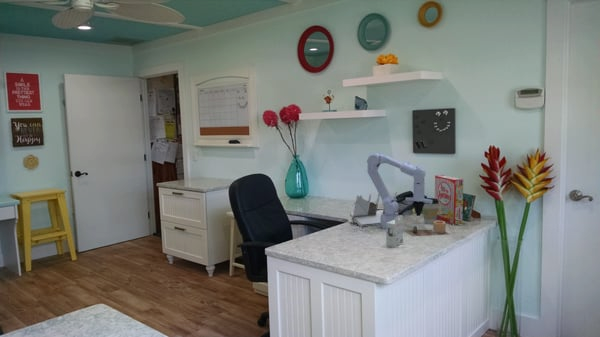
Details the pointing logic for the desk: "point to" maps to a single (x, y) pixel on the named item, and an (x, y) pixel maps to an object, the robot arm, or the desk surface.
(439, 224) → the collar
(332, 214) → the desk surface
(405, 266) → the desk surface
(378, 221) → the architectural model
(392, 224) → the ink box
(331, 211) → the desk surface
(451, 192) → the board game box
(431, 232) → the hub board
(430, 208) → the coffee cup
